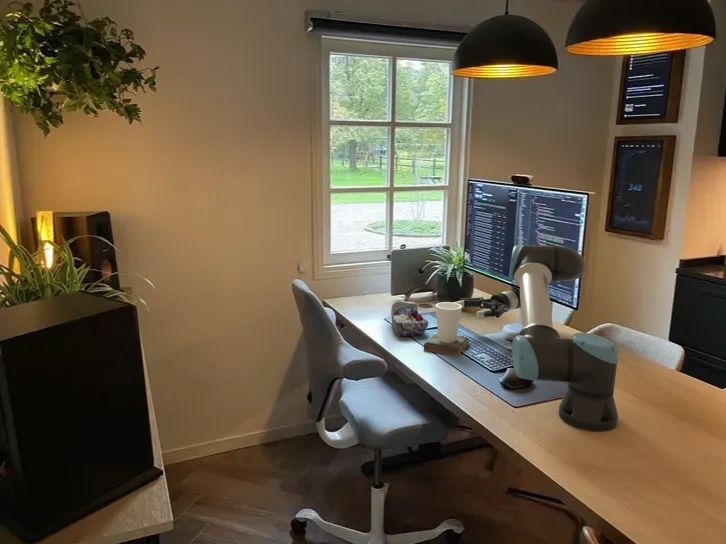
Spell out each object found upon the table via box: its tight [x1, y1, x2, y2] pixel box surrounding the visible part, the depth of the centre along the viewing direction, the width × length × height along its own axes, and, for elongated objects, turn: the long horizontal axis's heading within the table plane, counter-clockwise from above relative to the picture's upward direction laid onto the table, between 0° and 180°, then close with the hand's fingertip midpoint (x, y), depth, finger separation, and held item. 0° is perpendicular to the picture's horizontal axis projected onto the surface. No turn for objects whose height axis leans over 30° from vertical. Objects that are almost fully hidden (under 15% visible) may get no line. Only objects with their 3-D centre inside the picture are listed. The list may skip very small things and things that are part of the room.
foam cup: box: [434, 301, 463, 343], centre depth 209 cm, size 10×9×13 cm
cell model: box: [390, 300, 429, 337], centre depth 229 cm, size 13×11×20 cm
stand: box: [423, 331, 470, 357], centre depth 211 cm, size 13×13×3 cm
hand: (463, 311), depth 213 cm, fingers open, 13 cm apart
